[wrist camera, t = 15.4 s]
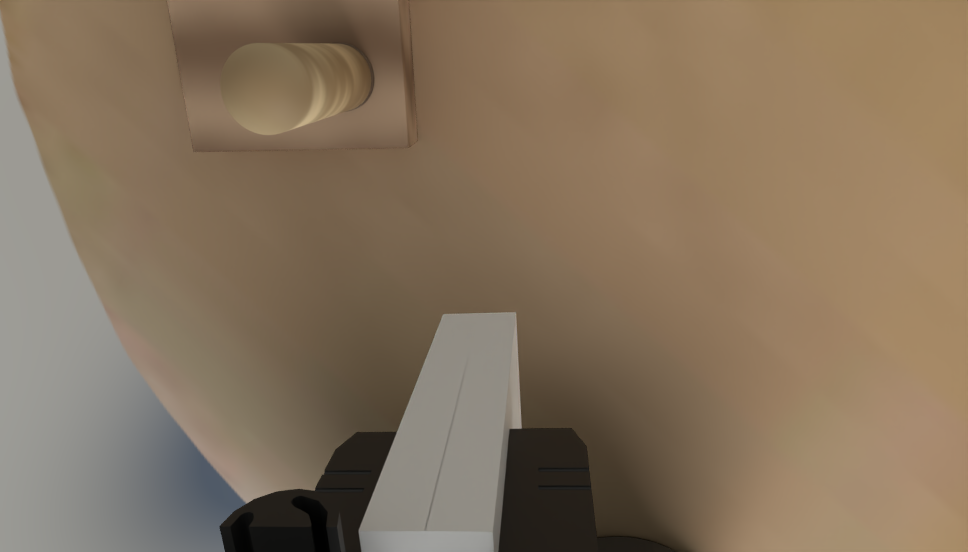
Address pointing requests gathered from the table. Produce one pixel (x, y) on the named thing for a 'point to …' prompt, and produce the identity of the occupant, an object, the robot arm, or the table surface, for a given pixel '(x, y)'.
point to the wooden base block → (296, 73)
